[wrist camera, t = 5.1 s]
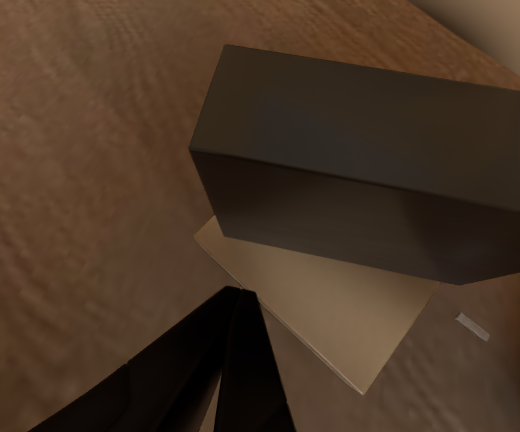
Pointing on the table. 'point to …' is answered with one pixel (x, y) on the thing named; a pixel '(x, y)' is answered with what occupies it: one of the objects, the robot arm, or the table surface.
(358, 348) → the flat tan square board
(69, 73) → the table surface
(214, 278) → the table surface
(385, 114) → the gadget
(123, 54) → the table surface
